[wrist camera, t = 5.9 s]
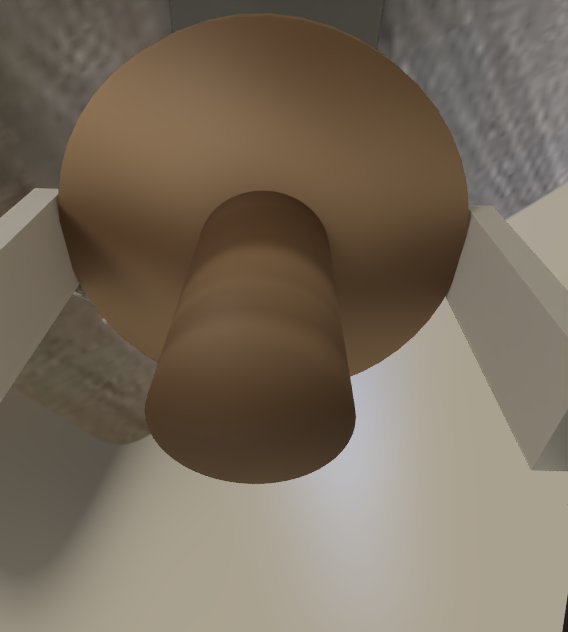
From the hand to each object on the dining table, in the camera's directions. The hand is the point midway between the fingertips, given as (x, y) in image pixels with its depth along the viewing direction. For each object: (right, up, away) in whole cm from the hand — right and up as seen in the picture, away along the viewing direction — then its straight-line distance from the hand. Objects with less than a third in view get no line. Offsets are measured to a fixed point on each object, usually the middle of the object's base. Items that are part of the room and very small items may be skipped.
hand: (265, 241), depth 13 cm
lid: (0, 0, 0) cm, 0 cm away
